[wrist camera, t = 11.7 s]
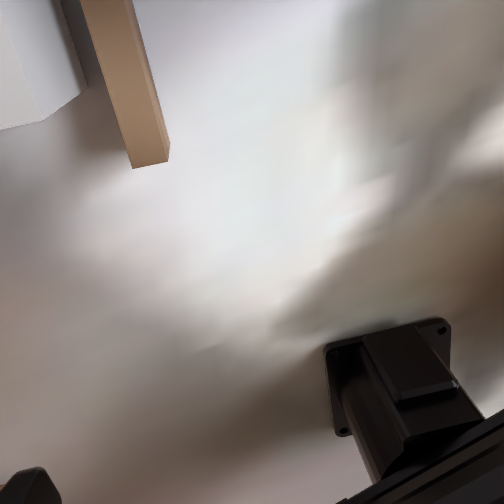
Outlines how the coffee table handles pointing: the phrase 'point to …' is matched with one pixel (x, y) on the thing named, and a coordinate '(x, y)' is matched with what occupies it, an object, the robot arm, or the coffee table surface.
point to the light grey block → (36, 62)
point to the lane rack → (128, 79)
